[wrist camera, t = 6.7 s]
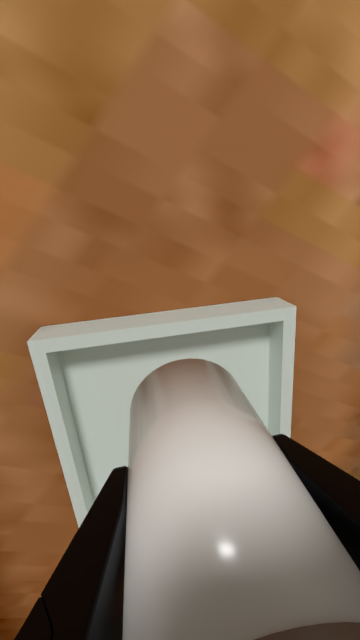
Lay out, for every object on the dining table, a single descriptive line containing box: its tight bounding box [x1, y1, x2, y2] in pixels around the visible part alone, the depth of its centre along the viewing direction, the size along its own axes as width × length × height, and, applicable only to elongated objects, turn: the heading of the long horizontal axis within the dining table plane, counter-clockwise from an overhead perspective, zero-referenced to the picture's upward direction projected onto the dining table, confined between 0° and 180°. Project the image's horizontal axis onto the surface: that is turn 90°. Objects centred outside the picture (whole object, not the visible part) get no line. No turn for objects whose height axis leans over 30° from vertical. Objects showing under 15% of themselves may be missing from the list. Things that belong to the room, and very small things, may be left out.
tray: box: [27, 297, 296, 527], centre depth 20 cm, size 16×16×2 cm
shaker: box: [122, 358, 360, 640], centre depth 7 cm, size 5×5×9 cm
